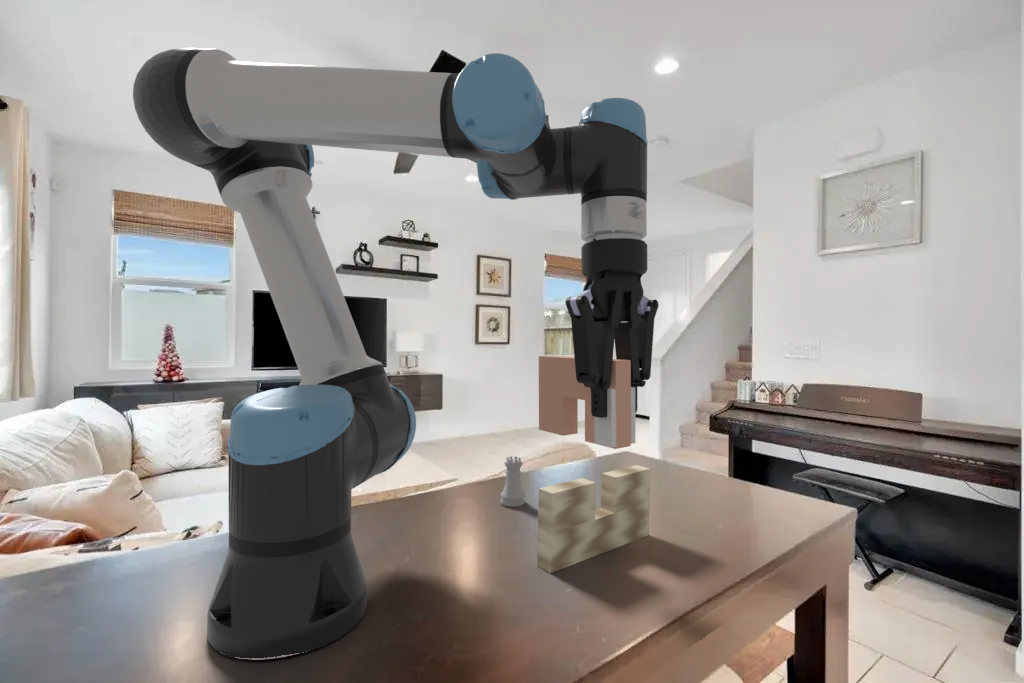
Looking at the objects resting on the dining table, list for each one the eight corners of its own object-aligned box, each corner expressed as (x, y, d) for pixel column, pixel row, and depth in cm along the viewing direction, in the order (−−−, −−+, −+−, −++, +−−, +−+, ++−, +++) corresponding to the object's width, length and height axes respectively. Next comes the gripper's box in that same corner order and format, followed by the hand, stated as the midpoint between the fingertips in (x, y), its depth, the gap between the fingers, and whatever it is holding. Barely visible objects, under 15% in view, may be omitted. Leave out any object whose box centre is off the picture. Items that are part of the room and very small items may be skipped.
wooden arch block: (630, 446, 58) (630, 360, 57) (615, 449, 56) (615, 360, 56) (552, 427, 69) (552, 355, 69) (538, 429, 68) (538, 356, 67)
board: (550, 573, 62) (551, 493, 62) (537, 565, 64) (538, 488, 64) (649, 535, 74) (650, 468, 74) (635, 529, 76) (636, 465, 76)
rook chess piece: (530, 502, 88) (531, 457, 88) (516, 509, 84) (517, 462, 84) (508, 497, 90) (509, 453, 90) (494, 504, 86) (495, 458, 86)
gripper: (587, 227, 50) (589, 459, 50) (683, 243, 59) (683, 440, 59) (541, 239, 56) (542, 446, 57) (634, 252, 65) (634, 430, 66)
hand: (614, 442), depth 58 cm, fingers closed on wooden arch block, 2 cm apart
